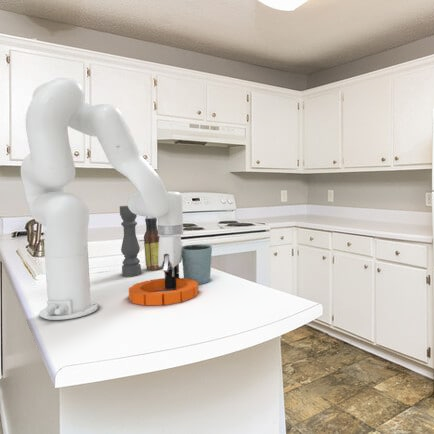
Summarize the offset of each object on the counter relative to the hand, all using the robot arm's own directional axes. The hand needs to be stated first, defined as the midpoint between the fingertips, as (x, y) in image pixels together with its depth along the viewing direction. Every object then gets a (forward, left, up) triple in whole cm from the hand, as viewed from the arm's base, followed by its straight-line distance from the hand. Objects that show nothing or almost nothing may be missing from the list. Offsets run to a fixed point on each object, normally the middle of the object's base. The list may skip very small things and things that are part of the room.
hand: (172, 286), depth 131 cm
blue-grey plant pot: (+8, -6, -1) cm, 10 cm away
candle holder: (+19, +20, -1) cm, 28 cm away
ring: (-8, 0, -1) cm, 8 cm away
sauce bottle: (+28, +15, -1) cm, 32 cm away
